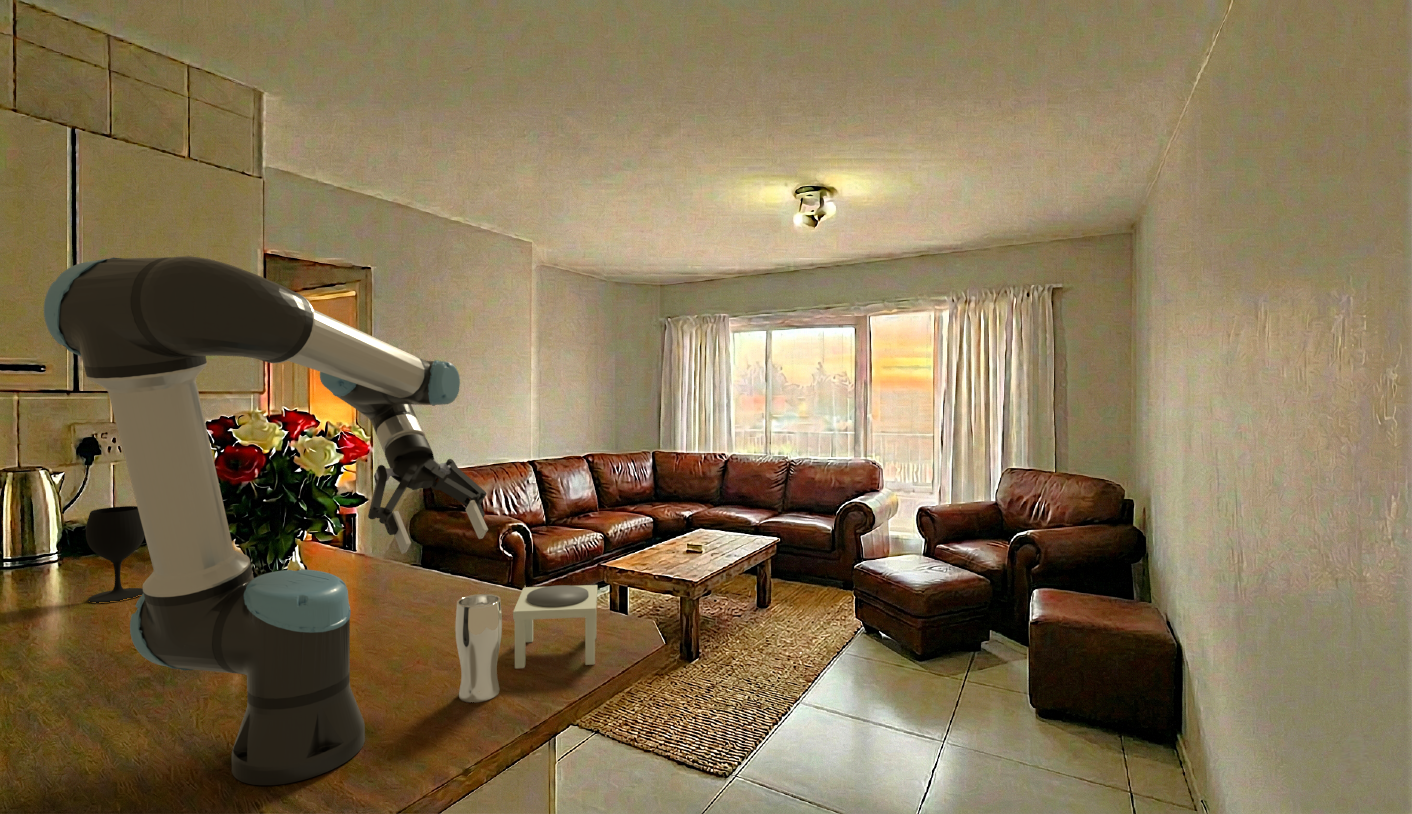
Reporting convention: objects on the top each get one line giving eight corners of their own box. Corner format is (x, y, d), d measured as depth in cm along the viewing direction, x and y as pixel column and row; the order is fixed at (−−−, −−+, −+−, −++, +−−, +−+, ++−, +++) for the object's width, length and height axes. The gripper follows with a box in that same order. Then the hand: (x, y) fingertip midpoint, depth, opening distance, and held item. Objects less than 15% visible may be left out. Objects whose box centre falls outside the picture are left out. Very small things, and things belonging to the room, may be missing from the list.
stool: (513, 668, 117) (513, 608, 117) (523, 638, 131) (523, 584, 131) (595, 664, 119) (595, 604, 119) (597, 635, 133) (597, 581, 133)
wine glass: (155, 594, 157) (153, 508, 157) (97, 606, 149) (94, 515, 148) (137, 587, 163) (135, 503, 162) (80, 598, 154) (78, 510, 154)
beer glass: (488, 706, 104) (487, 608, 103) (446, 701, 105) (446, 605, 105) (510, 686, 111) (509, 594, 110) (471, 682, 112) (470, 592, 111)
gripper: (462, 453, 135) (504, 541, 126) (326, 465, 117) (363, 568, 107) (476, 428, 131) (520, 516, 122) (337, 436, 113) (376, 540, 104)
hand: (446, 541), depth 115 cm, fingers open, 13 cm apart
